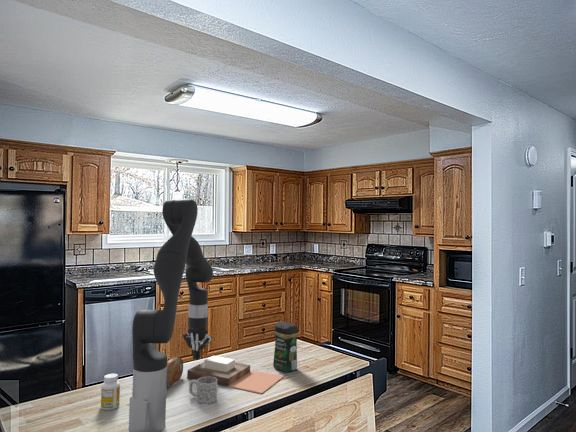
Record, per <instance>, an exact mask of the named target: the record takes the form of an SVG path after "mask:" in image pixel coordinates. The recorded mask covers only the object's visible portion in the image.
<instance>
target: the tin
mask: <svg viewBox="0 0 576 432" xmlns="http://www.w3.org/2000/svg"><path fill="white" fill-rule="evenodd" d="M183 373H184V362H183V358H182V357H180V356H178V357H177V356H176V357H175V356H174V357H171V358H170V359H169V360H168V359H167V386H166V389H170V388H172V387H173V386H174V385H175V384H176V383H177V382H179V381H180V380H181V378H182V376H183Z"/></svg>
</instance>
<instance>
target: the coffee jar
mask: <svg viewBox="0 0 576 432" xmlns="http://www.w3.org/2000/svg"><path fill="white" fill-rule="evenodd" d="M273 333H274V337H275V338H274V339H275V340H274V351H273V352H274V354H273V361H272V362H273V363H272V364H273V368H274V369H276V370H278V371H281V372H286V373H287V372H294V371H295V370H297V368H298V355H297V353H298V350H297V349H298V346H297V342H298V336H299V328H298V325H297V324H294V323H289V322H286V321H283V320H282V321H278V322H276V323H275V324H274V332H273Z"/></svg>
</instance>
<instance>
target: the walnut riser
mask: <svg viewBox="0 0 576 432" xmlns="http://www.w3.org/2000/svg"><path fill="white" fill-rule="evenodd" d="M249 372H251V364H247V363H246V364H245V363H240V362H236V361H235V368H233V369H231V370H230V371H228V372H223V371H218V370H213V369H208V368H204V361H203V362H201V363H198V364H197V365H194V366H193V367H191V368H189V369H187V371H186V376H187V377H186V379H190V380H197V379H198V378H201V377H206V376H211V377H215V378H217V386H223V387H226V388H229V387H228V386H229V385H230V384H232V383H233V382H235V381H237V380H238V379H240V378H241V377H243V376H245V375H246V374H248V373H249Z"/></svg>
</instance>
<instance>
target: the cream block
mask: <svg viewBox="0 0 576 432" xmlns="http://www.w3.org/2000/svg"><path fill="white" fill-rule="evenodd" d="M203 362H204V368H208V369H213V370H218V371H223V372H228V371H230V370H231V369H233V368H235V362H236V359H234V358H228V357H223V356H219V355H218V356H217V355H212V356H210V357H208V358H205V359H204V360H203Z"/></svg>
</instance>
